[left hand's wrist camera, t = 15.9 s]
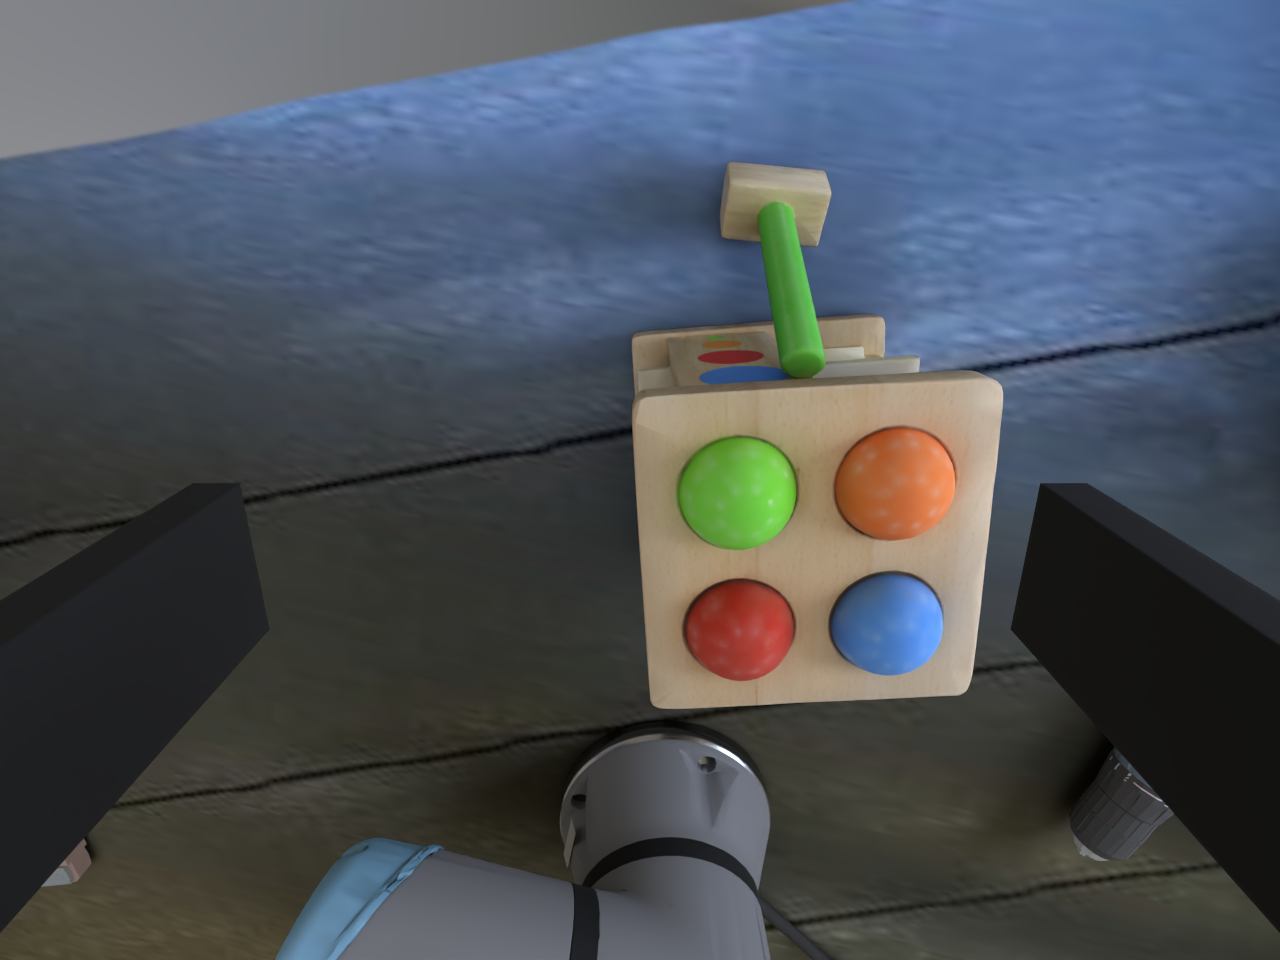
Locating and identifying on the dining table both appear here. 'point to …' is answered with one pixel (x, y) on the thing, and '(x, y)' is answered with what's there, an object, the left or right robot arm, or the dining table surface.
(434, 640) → the dining table surface
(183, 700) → the left robot arm
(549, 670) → the dining table surface
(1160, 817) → the power drill
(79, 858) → the clamp
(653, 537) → the pounding bench toy
